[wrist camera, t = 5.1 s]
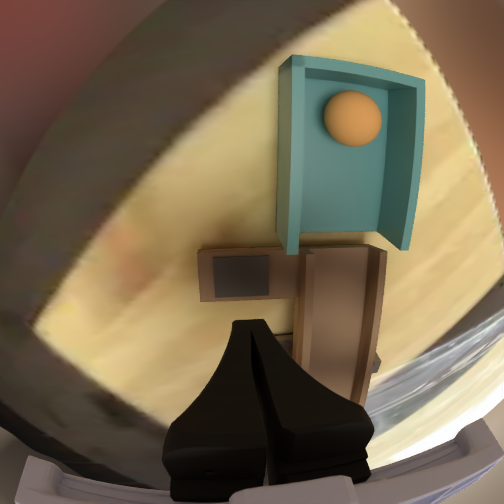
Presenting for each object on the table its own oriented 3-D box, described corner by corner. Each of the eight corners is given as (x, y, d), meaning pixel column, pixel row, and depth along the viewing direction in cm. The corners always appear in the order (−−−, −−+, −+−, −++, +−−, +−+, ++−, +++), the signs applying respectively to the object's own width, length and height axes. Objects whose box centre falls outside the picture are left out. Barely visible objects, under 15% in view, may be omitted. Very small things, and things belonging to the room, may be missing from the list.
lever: (346, 439, 23) (355, 457, 20) (218, 454, 22) (218, 475, 19) (375, 243, 19) (394, 250, 17) (198, 249, 18) (194, 258, 16)
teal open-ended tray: (382, 229, 19) (408, 250, 16) (275, 231, 19) (286, 254, 16) (393, 83, 15) (425, 79, 12) (278, 67, 15) (292, 54, 11)
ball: (398, 110, 12) (373, 86, 14) (340, 101, 12) (321, 78, 14) (381, 160, 15) (361, 131, 17) (327, 156, 15) (313, 126, 17)
